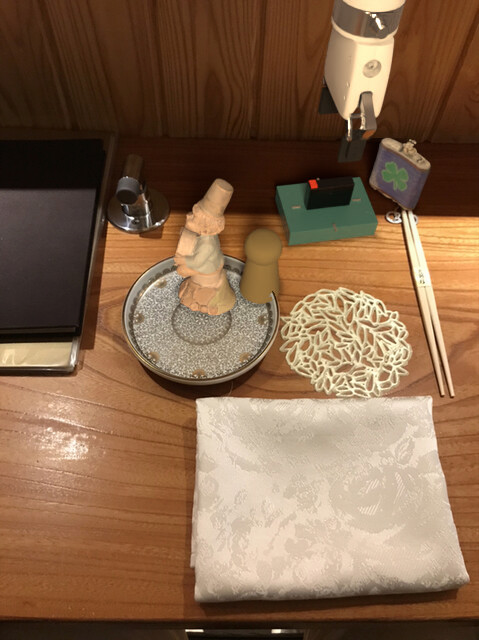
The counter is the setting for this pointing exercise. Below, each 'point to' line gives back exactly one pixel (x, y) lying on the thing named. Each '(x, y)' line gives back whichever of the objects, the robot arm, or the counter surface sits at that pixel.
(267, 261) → the cork
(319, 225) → the base
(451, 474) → the counter surface
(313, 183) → the clamp handle
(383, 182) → the flask
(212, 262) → the figurine
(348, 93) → the robot arm
